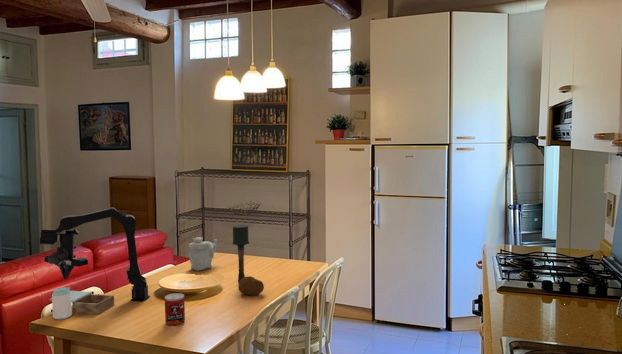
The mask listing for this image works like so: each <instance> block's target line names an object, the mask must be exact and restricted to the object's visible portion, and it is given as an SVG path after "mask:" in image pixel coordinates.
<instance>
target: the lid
mask: <svg viewBox="0 0 622 354" xmlns="http://www.w3.org/2000/svg"><path fill="white" fill-rule="evenodd" d="M67 288H69V290H70V291H71V303H73V302H76V301H78V300H80V299H82V298H84V297H86V296H88V295H90V294H93V291H81V290H71V286H67ZM49 301H50V302H52V297H51V298H49Z"/></svg>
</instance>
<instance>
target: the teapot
mask: <svg viewBox="0 0 622 354" xmlns="http://www.w3.org/2000/svg"><path fill="white" fill-rule="evenodd" d="M203 239H204V238H203V236H202V237H199V236H196V237H195V238H194V237H193V238H192V241H193V242H191V243H188V248H189V251H188V258H189V262H190V268H191V270H193V269H194V271H199V272H200V271H204V270H207V269H211V268H212V267H213V266H212V261H213V259H214V254H215V253H216V251H217V247H218V239H217V238H215V239H213V242H212V241H203Z"/></svg>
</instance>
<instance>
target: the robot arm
mask: <svg viewBox="0 0 622 354" xmlns="http://www.w3.org/2000/svg"><path fill="white" fill-rule="evenodd" d="M108 218H112V219H114V220H116V221H117V222H119V223H120V224H122V227H123V229H124V230H123V231H124V233H125V236H126V243H127V245H126V246H127V253H128V261H129V266H128V267H126V268H125V272H126V280H127V281H128V282H129V283H130V284H131V285H132V286H131V298H130V301H134V302H135V301H137V302H144V301H145V300H146V301H147V299H149V298H150V297H151V295H149V285H148V283H147V282H148V281H147V278H146V277H144V276H143V275H142V273H141V269H140V266H139V263H138V254H137V245H136V237H135V233H136V226H137V225H136V223H137V221H136V218H135V216H134V215H133V214H127V213H124V212H123V211H120V210H119V209H116V208H115V207H109V208H106V209H102V210H101V209H100V210H97V211H93V212H89V213H84V214H69V215H65V216H63V217H62V218H61V219H60V221H59V225H58V226H57V227H56V228H55V229H53V228H51V229H50V228H48V229H47V228H42V229H41V231H40V237H39V244H40V246H45V245H49V246H50V245H56V243H59V245H58V246H57V247H56V251H54V252H53V253H51V254H46V255H45V256H44V260H43V261H44V263H48V264H50V265H55V266H57V267H58V268H59V270H60V272H61V275H62V278H63V280H68V279H69V276H70V274H71V272H72V271H73V269H74V268H75V267H76V268H77V267H78V268H79V267H83V266H87V265H89V259H88V258H87V257H81V256H79V257H76V256H77V255H76V254H75V249H77V246H76V245H75V236H76V235H77V236H78V235H79V234H80V231H79V230H77V227H79V226H81V225H83V224H87V223H91V222H95V221H100V220H103V219H108Z"/></svg>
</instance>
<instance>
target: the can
mask: <svg viewBox="0 0 622 354" xmlns="http://www.w3.org/2000/svg"><path fill="white" fill-rule="evenodd" d="M67 287H68V286H67ZM67 287H66V286H65V287H64V286H63V287H57V288H55V289H54V290H53V292H52V294H51V298H52V301H51V304H52V318H53V319H55V320H57V321H59V320H66V319H69V318H70V317H71V316H72V315H73V308H72V302H71V291H72V290H71V289H70V290H69V288H67Z"/></svg>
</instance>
